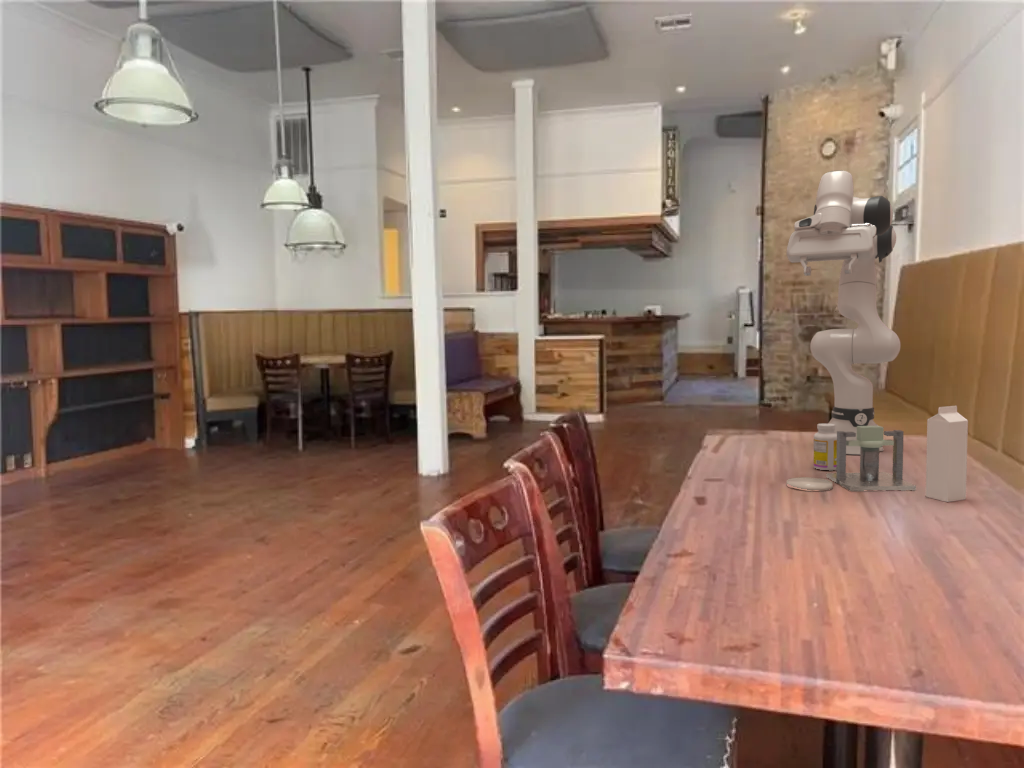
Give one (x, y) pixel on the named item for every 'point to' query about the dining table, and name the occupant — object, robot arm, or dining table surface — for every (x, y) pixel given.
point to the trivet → (810, 483)
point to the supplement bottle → (825, 447)
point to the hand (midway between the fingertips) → (827, 273)
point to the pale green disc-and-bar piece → (869, 437)
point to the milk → (946, 455)
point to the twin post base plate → (870, 467)
